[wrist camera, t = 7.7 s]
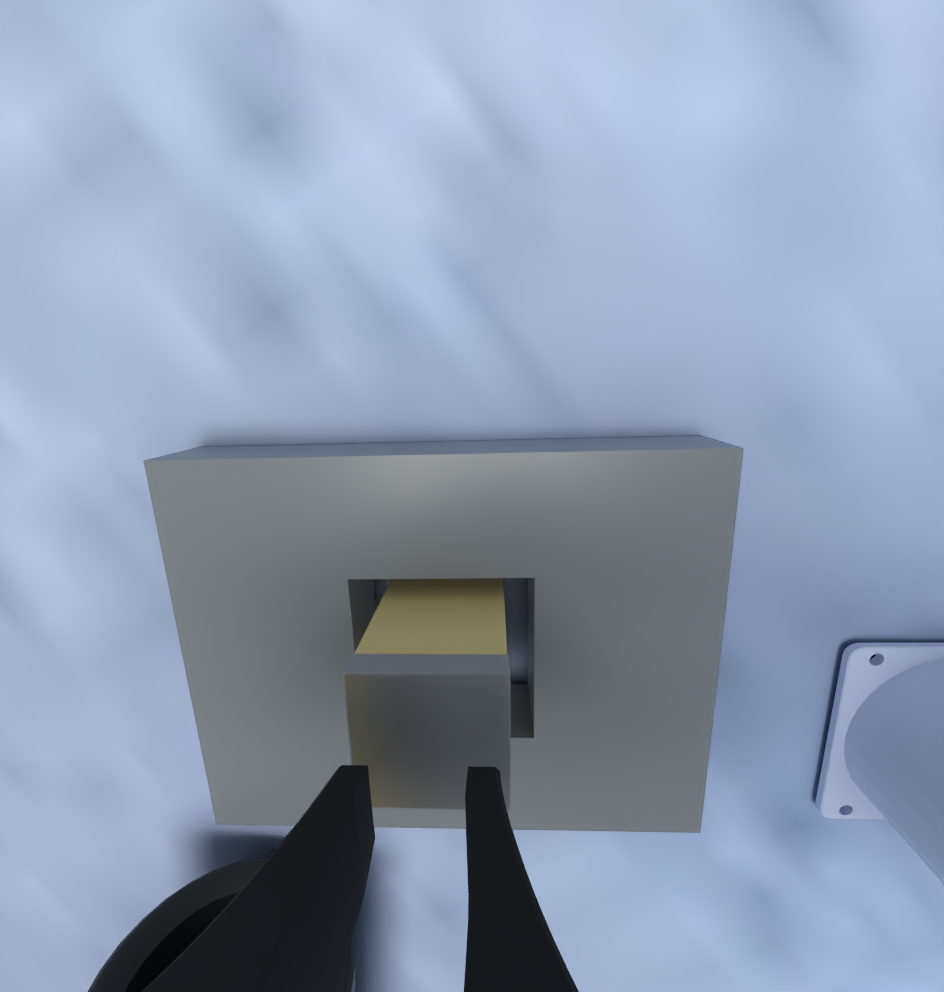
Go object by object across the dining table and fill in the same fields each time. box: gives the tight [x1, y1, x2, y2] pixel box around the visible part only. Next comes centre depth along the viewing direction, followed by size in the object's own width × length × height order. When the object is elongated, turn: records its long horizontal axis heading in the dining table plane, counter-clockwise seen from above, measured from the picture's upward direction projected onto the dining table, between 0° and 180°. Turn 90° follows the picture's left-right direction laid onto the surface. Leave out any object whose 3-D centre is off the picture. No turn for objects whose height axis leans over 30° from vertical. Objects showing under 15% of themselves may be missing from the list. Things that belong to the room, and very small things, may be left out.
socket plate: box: [144, 435, 744, 833], centre depth 17 cm, size 18×14×3 cm
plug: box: [342, 578, 511, 811], centre depth 15 cm, size 4×4×7 cm
